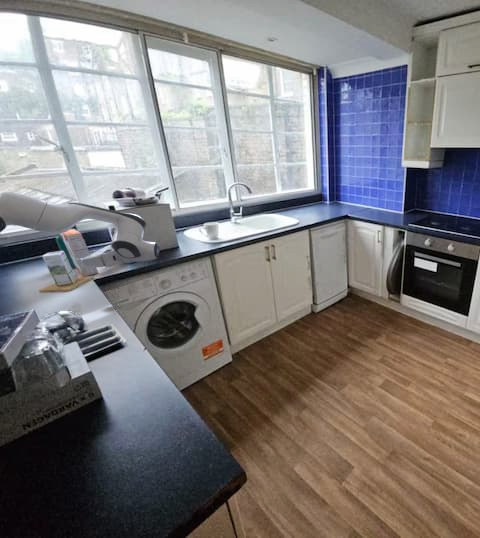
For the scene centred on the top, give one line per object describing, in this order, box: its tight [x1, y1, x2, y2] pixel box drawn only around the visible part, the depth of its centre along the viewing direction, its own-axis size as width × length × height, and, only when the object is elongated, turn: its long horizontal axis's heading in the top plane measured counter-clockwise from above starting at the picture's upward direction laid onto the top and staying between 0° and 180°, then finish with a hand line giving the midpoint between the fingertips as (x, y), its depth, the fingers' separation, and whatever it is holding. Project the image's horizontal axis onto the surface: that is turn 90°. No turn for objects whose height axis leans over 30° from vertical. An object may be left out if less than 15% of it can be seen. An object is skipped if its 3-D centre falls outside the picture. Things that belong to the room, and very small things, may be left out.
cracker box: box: [59, 229, 99, 277], centre depth 142 cm, size 14×6×21 cm, turn 52°
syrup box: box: [41, 250, 77, 286], centre depth 129 cm, size 6×6×14 cm
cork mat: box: [38, 276, 94, 293], centre depth 132 cm, size 13×13×1 cm
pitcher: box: [55, 224, 78, 270], centre depth 151 cm, size 10×8×22 cm
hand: (84, 256), depth 129 cm, fingers open, 8 cm apart
